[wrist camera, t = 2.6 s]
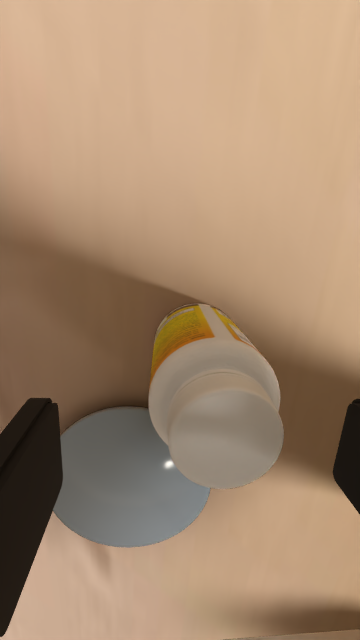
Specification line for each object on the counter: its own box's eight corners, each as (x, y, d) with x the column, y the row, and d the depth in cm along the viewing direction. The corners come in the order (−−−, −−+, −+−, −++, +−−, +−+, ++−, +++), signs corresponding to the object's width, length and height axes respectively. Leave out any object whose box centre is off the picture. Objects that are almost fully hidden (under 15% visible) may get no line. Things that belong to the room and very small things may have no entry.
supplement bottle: (146, 369, 20) (126, 495, 10) (165, 292, 18) (165, 347, 9) (222, 386, 20) (277, 520, 10) (246, 312, 19) (334, 386, 9)
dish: (234, 494, 23) (237, 507, 22) (103, 553, 24) (100, 569, 23) (163, 373, 20) (163, 380, 19) (17, 445, 21) (8, 457, 20)
